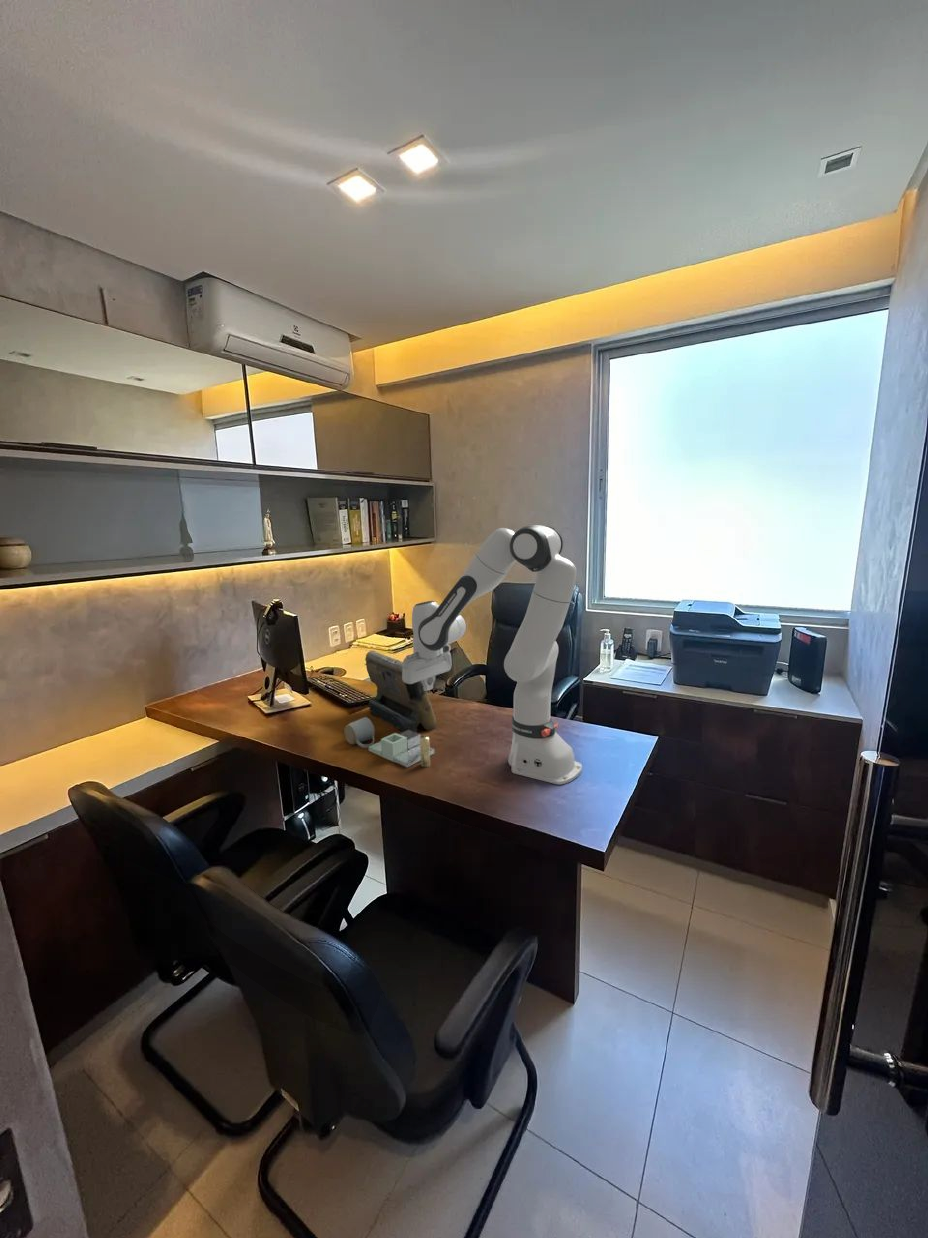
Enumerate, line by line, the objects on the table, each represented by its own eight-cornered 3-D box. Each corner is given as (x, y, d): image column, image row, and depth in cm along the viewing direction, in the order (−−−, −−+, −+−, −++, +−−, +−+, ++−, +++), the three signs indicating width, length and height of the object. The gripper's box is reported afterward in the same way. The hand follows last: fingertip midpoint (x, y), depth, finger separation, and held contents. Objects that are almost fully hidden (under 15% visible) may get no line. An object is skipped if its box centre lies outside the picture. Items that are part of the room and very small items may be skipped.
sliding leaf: (434, 753, 157) (434, 739, 156) (406, 767, 148) (406, 752, 147) (409, 743, 164) (408, 729, 163) (381, 756, 155) (380, 742, 154)
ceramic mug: (343, 741, 167) (342, 720, 165) (363, 734, 172) (362, 714, 171) (360, 752, 159) (359, 730, 158) (381, 744, 165) (380, 723, 163)
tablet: (443, 726, 178) (442, 660, 174) (414, 738, 169) (411, 668, 164) (389, 704, 201) (386, 645, 196) (361, 714, 191) (357, 652, 186)
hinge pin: (432, 764, 150) (431, 737, 148) (425, 768, 148) (424, 740, 146) (425, 761, 152) (424, 734, 150) (419, 765, 149) (418, 737, 148)
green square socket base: (421, 748, 161) (420, 731, 160) (393, 762, 152) (392, 744, 151) (396, 738, 168) (395, 722, 167) (368, 750, 160) (367, 733, 158)
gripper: (410, 658, 152) (412, 700, 154) (453, 645, 167) (455, 683, 169) (396, 655, 156) (398, 696, 158) (440, 642, 171) (442, 680, 173)
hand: (428, 689), depth 164 cm, fingers closed
